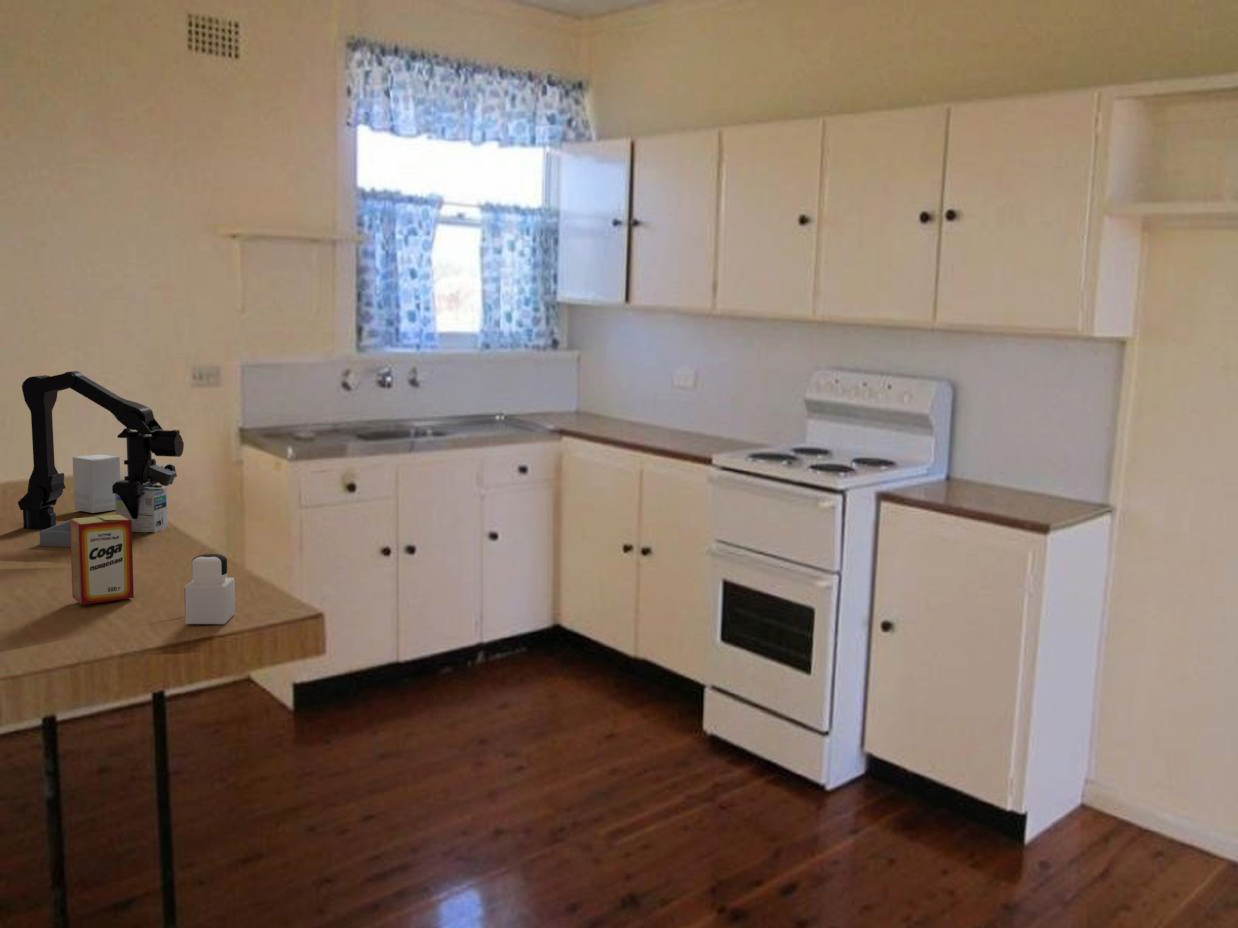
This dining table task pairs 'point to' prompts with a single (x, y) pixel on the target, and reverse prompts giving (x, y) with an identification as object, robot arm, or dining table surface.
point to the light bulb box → (147, 510)
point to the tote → (58, 535)
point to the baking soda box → (101, 558)
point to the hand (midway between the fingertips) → (141, 516)
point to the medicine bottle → (209, 591)
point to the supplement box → (95, 482)
